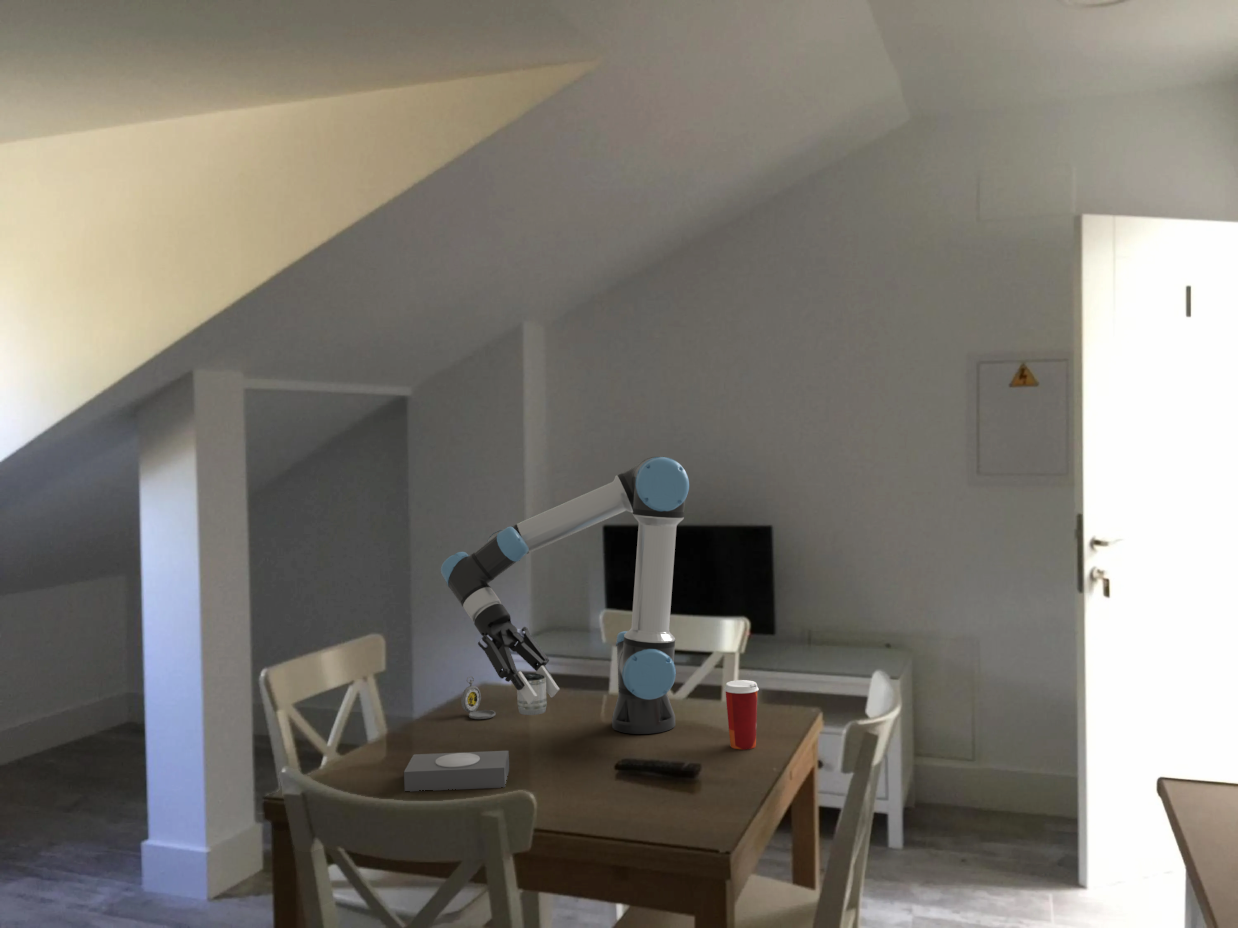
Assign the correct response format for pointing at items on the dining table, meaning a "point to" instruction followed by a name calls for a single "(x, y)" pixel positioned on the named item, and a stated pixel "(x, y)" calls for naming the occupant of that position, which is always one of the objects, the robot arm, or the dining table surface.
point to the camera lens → (539, 702)
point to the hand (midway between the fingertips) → (544, 696)
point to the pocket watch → (474, 702)
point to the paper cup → (742, 713)
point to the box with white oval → (457, 771)
